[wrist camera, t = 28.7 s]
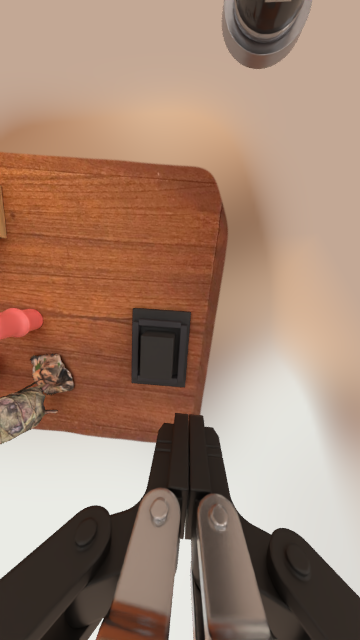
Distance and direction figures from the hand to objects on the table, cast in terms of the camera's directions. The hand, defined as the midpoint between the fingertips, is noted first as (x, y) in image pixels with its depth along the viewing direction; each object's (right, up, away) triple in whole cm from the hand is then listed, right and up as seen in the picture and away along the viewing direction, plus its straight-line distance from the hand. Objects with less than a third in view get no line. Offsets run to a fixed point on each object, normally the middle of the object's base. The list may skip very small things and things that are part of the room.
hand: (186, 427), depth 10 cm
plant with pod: (-25, -6, +26) cm, 36 cm away
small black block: (-4, 0, +22) cm, 22 cm away
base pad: (-4, +1, +23) cm, 24 cm away
